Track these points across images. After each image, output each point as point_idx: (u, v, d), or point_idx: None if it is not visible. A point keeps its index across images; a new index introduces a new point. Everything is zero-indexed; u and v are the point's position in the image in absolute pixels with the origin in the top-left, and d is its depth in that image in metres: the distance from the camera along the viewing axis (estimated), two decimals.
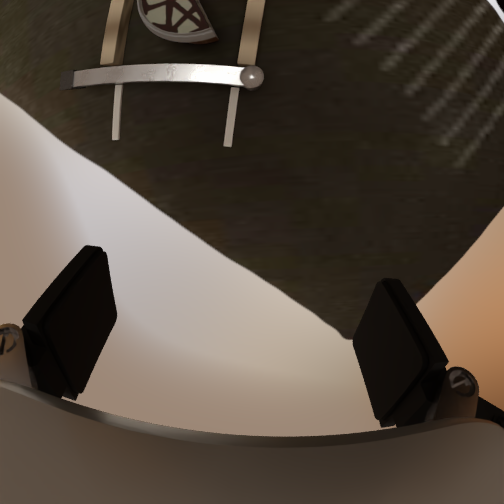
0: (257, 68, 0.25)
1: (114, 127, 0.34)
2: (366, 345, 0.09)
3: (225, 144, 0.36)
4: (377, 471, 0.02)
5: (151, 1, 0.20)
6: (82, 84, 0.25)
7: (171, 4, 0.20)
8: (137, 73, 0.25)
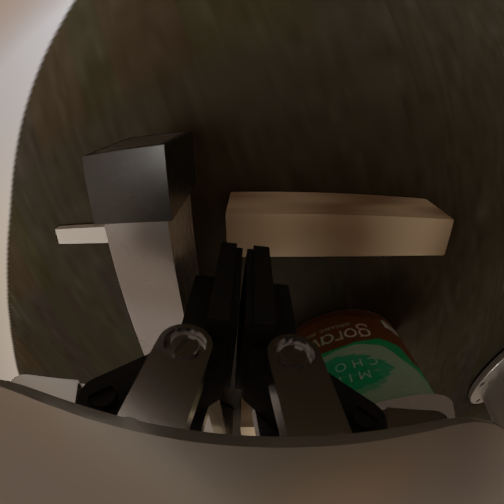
0: None
1: (78, 233, 0.15)
2: (240, 313, 0.10)
3: None
4: (377, 471, 0.02)
5: None
6: (118, 266, 0.08)
7: None
8: None
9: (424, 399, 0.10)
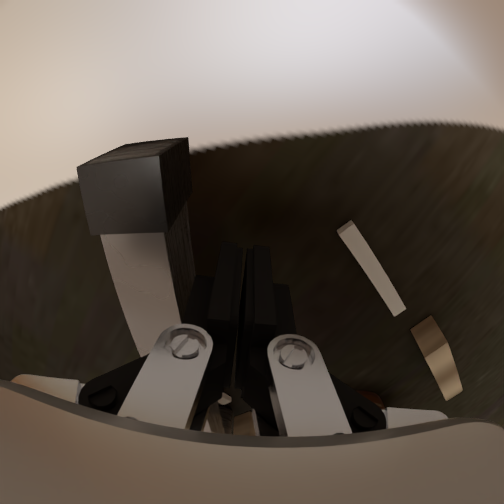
0: None
1: (364, 250, 0.15)
2: (240, 313, 0.10)
3: None
4: (376, 472, 0.02)
5: None
6: (115, 275, 0.08)
7: None
8: None
9: None
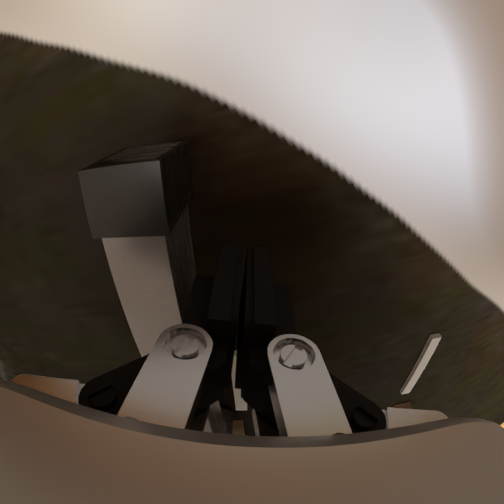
0: None
1: (431, 352, 0.20)
2: (240, 313, 0.10)
3: None
4: (376, 472, 0.02)
5: None
6: (117, 278, 0.08)
7: None
8: None
9: None
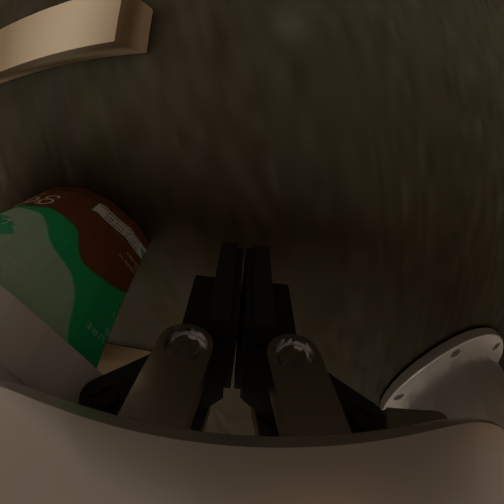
0: None
1: None
2: (239, 313, 0.10)
3: None
4: (377, 472, 0.02)
5: None
6: None
7: None
8: None
9: None
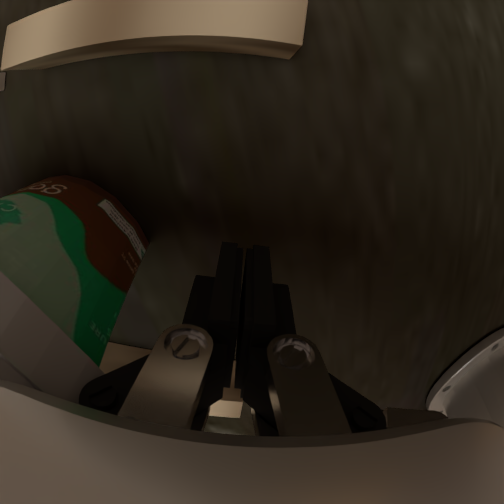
0: None
1: None
2: (239, 313, 0.10)
3: None
4: (376, 471, 0.02)
5: None
6: None
7: None
8: None
9: None
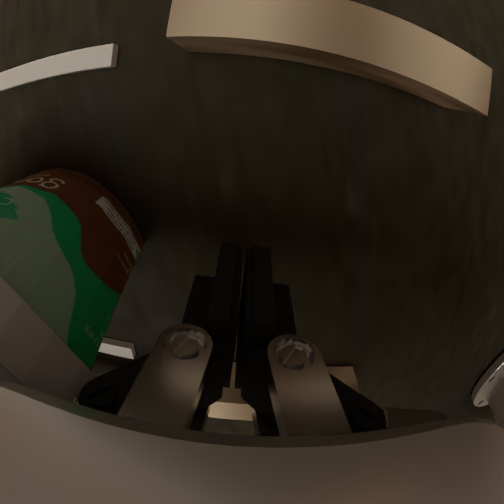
0: None
1: (9, 75, 0.08)
2: (240, 313, 0.10)
3: None
4: (376, 472, 0.02)
5: None
6: None
7: None
8: None
9: None
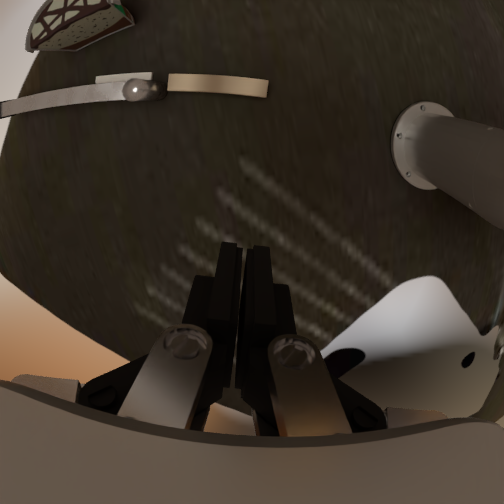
0: (137, 80, 0.22)
1: None
2: (240, 313, 0.10)
3: (97, 77, 0.28)
4: (377, 472, 0.02)
5: None
6: (7, 114, 0.23)
7: (61, 12, 0.17)
8: (45, 101, 0.23)
9: None
